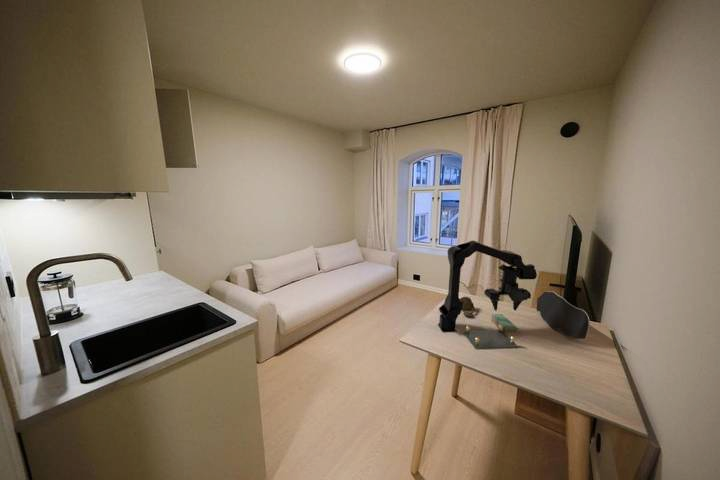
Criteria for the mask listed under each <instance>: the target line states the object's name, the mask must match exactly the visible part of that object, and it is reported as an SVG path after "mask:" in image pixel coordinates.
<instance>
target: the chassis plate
mask: <svg viewBox="0 0 720 480" xmlns="http://www.w3.org/2000/svg"><path fill="white" fill-rule="evenodd" d="M470 329H471V326H470V325H466V326H465V330H463V332H462V333H463V335H464V336H465V337H466V339H467V340H468V341H469V342H470V344H471V346H473V348H474V349H475V350H477V349H478V350H482V349H483V350H484V349H507V348H508V349H510V348H512V349H513V348H514V349H515V348H517V346H518V345H517V344H516V336H515V335H510V337H509V335H506V334H505V333H504V332H503V331H502V329H503V325H499V328H498V327H497V329H480V330H479V329H477V330H472V329H471V330H470Z"/></svg>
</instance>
